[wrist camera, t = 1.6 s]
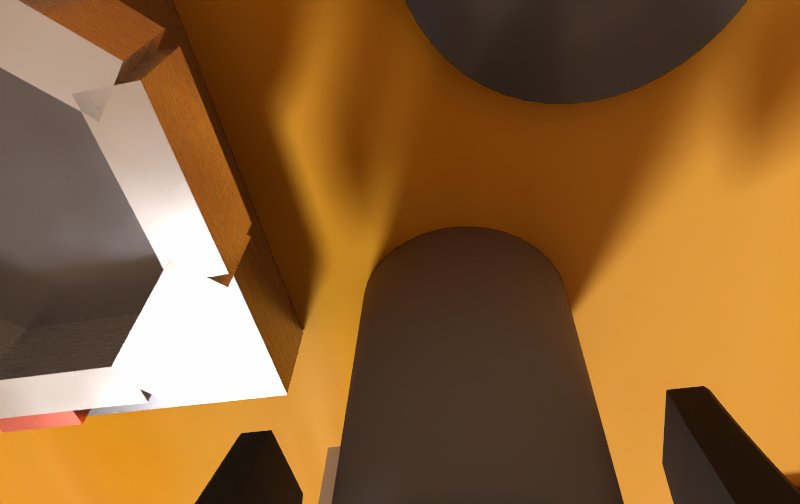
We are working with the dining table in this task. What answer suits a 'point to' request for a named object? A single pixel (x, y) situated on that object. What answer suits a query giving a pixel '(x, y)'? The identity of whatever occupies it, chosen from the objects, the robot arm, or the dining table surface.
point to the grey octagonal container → (124, 225)
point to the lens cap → (569, 42)
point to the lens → (469, 383)
